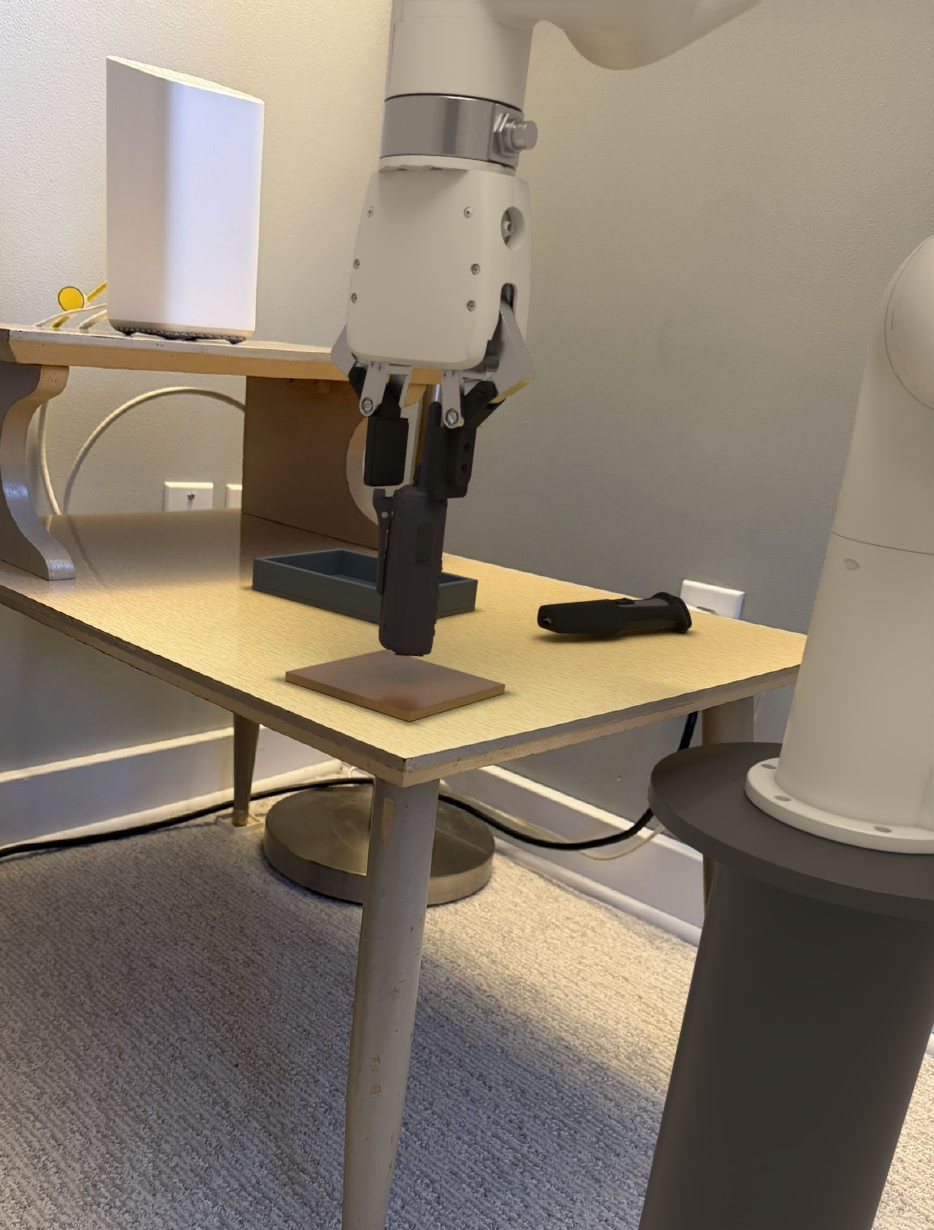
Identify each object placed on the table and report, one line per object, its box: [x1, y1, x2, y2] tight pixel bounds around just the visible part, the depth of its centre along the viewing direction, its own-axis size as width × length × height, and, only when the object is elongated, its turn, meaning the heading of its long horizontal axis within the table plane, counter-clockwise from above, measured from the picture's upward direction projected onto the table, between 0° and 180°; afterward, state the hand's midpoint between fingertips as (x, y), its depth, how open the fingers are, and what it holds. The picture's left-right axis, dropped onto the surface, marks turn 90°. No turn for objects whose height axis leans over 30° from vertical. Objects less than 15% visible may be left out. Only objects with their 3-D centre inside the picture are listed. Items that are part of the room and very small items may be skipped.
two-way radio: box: [371, 400, 449, 658], centre depth 71 cm, size 6×4×15 cm
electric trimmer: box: [536, 591, 693, 637], centre depth 92 cm, size 4×16×3 cm, turn 123°
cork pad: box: [284, 648, 506, 722], centre depth 74 cm, size 10×10×1 cm
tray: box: [251, 547, 479, 625], centre depth 97 cm, size 15×11×3 cm
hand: (414, 488), depth 70 cm, fingers closed on two-way radio, 4 cm apart
